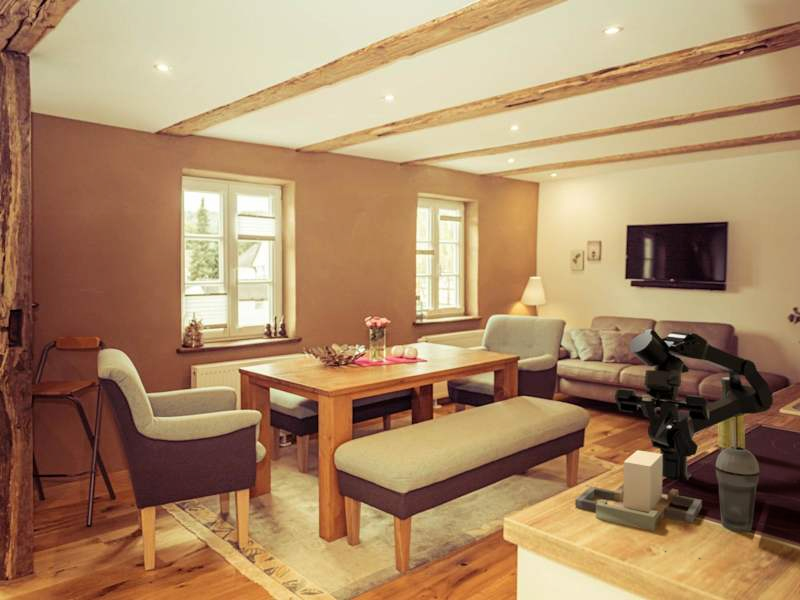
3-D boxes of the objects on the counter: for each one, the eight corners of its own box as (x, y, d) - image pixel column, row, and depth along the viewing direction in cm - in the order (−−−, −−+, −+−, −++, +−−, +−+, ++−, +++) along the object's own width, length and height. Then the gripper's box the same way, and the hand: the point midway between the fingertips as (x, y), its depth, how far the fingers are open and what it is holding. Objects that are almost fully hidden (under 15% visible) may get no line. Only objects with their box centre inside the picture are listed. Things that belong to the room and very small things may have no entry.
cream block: (636, 492, 128) (637, 450, 128) (662, 497, 125) (662, 454, 125) (623, 506, 120) (623, 461, 120) (649, 512, 117) (650, 466, 117)
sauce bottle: (738, 449, 163) (739, 376, 163) (749, 456, 157) (750, 380, 156) (712, 449, 164) (713, 376, 163) (722, 455, 158) (724, 379, 157)
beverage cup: (735, 542, 106) (737, 429, 105) (704, 526, 113) (706, 420, 112) (769, 537, 108) (771, 426, 107) (736, 522, 115) (738, 417, 114)
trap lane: (603, 487, 134) (603, 471, 134) (704, 507, 123) (705, 489, 122) (569, 516, 118) (570, 499, 118) (683, 543, 106) (684, 523, 106)
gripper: (617, 353, 139) (601, 410, 130) (707, 358, 128) (697, 421, 119) (626, 382, 145) (612, 438, 137) (713, 390, 134) (704, 451, 126)
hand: (654, 436), depth 129 cm, fingers closed
